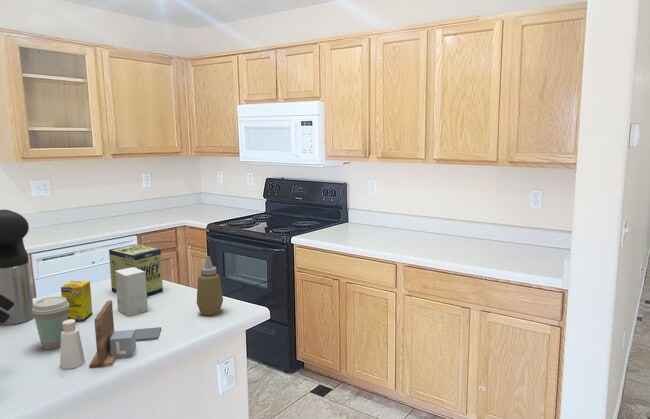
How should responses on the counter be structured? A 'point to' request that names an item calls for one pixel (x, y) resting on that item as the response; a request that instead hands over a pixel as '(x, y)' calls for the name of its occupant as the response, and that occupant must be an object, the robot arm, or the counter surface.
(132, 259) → the protein box
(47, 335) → the coffee cup
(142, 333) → the pad
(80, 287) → the supplement box
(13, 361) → the counter surface
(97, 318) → the screen
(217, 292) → the squeeze bottle
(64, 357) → the pepper shaker
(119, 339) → the gray cube
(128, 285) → the small box
